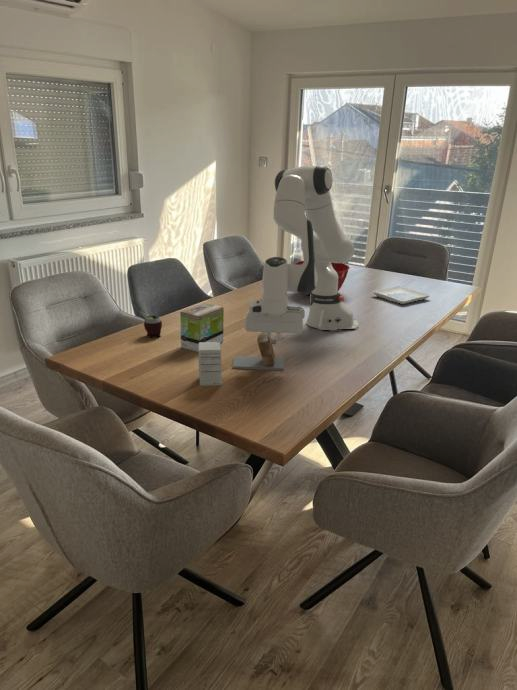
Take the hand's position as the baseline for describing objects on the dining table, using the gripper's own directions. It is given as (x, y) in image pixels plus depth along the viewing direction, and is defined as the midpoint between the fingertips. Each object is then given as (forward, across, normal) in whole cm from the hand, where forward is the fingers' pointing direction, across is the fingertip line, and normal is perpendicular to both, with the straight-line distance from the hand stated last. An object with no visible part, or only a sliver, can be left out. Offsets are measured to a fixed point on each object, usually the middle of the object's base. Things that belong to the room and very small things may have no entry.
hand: (273, 343), depth 186 cm
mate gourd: (+8, +49, -26) cm, 56 cm away
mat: (+8, +5, 0) cm, 9 cm away
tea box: (+8, +28, -18) cm, 34 cm away
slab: (+7, +1, 0) cm, 7 cm away
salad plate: (+8, -62, -92) cm, 111 cm away
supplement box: (+8, +20, +16) cm, 27 cm away
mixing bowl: (+8, -21, -95) cm, 98 cm away
